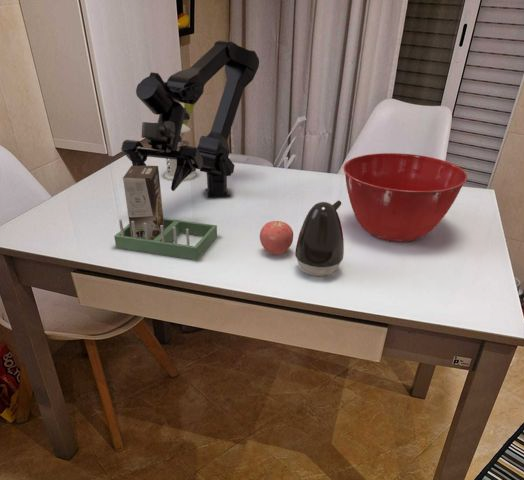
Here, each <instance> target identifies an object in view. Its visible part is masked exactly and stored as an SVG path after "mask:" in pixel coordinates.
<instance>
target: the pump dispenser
mask: <svg viewBox="0 0 524 480" xmlns="http://www.w3.org/2000/svg"><path fill="white" fill-rule="evenodd" d="M341 205H342V201H341V200H337V201H335V202H334V203H333V204H332V203H330V202H327V201H320V202H317V203H315V204H314V205H312V206H311V208H310V209H309V210H308V212H307V214H306V216H305V218H304V220H303V222H302V225H301V228H300V231H299V234H298V237H297V241H296V245H295V252H294V254H295V258H296V259H297V260H296V261H297V264H298V266H299V267H300V269H301V271H303V272H304V273H305V274H307V275H310V276H313V277H326V276H329V275H331V274H333V273H334V272H336V270H337V269H338V268H339V267H340V265H341V262H342V261H343V259H344V256H345V255H344V254H345V253H344V252H345V245H344V244H345V243H344V232H343V227H342V223H341V218H340V216H339V213H338V209H339V208H340V206H341Z"/></svg>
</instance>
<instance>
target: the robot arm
mask: <svg viewBox="0 0 524 480" xmlns="http://www.w3.org/2000/svg"><path fill="white" fill-rule="evenodd" d="M259 67H260V59H259V56H258V54H257V52H256V51H255V50H252V49H247V48H245V47H242V46H240V45H238V44H236V43H235V42H233V41H230V40H220V39H219V40H217V41H215V42H214V44H213V46H212V47H211V48H210V49H209V50H208V51H207V52H206V53H205V54H203V55H202V56H201V57H200V58H199V59H198V60H197V61H196V62H195V63H193V65H191V67H190V66H189V68H186V69H183V70H179V71H177V72H175V73H173V74H171V75H170V76H169V77H168V78H167V80H166V81H164V80H163V78H162V77H161V75H160V73H158V72H150V74H149V76H147V77H145V78H143V79H142V80H141V81H140V82H139V83H138V84H137V86H136V89H135V94H136V97H137V98H138V99H139V100H140V101H141V102H142V103H143V104H144V105H145V107H146V108H148V110H149V111H150V112H151V113H152V114H153V115H156V116H158V118H157V122H149V121H148V122H147V121H143V122H142V123H141V138H142V139H146V143H147V144H148V145H149V146H151V147H145V146H144V145H143V144H142V143H141V141H140V140H132V139H125V140H123V142H122V143H121V144H122V145H121V147H120V150H121V152H122V153H123V154H124V155H125V156H126V157H127V159H129V161H131V164H132V165H131V166H147V164H146V162H147V159H148V158H157V159H165V160H166V159H168V160H169V159H175V160H177V167H176V170H175V174H174V177H173V180H172V181H171V186H170V190H171V191H172V192H175V191H176V189H177V188H178V187H179V186H180V185H181V184H182V182H183V181H185V180H184V179H185V178H186V177H187V176H188V175H189V174H190V173H191V172H194V173H195V172H196V171H197V170H199V171H200V172H202V173H206V188H205V189H204V191H205V195H206V197H207V198H208V199H212V198H229V197H231V194H230V191H229V189H228V177H230V176H232V174H234V170H235V164H234V163H233V161H232V160H231V159H230V158H229V156H230V147H229V142H228V141H229V136H230V134H231V130H232V127H233V123H234V122H235V118H236V115H237V111H238V108H239V107H240V102H241V99H242V96H243V93H244V90H245V88H247V86H249V85H250V83H251V82H253V80H254V78H255V76H256V74H257V72H258V69H259ZM222 68H224V72H225V78H226V82H225V84H224V89H223V91H222V95H221V97H220V100H219V104H218V108H217V111H216V113H215V117H214V119H213V122H212V126H211V129H210V131H209V133H208V134H207V135H201V136H200V138H199V141H198V145H197V146H193V145H188V146H184V145H182V146H181V147H180V149H179V151H176V150H177V145H178V142H181V139H182V138H183V137H182V136H180V133H181V129H182V124H184V121H189V120H190V119H191V117H190V113H189V112H188V110H187V108H186V107H184V106H183V105H182V104H186V105H195V104H197V102H198V101H199V100H200V98H201V97H202V95H203V94H204V92H205V91H204V90H205V85H206V84H207V83H208V82H209V81H210V80H211V79H212V78H213V77H214V76H215V75H216V74H217V73H218V72H219V71H220V70H221V69H222ZM181 137H182V138H181ZM182 140H183V139H182Z"/></svg>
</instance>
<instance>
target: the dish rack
mask: <svg viewBox="0 0 524 480" xmlns="http://www.w3.org/2000/svg"><path fill="white" fill-rule="evenodd" d="M118 223H119V230H120V231H119V232H117V233H115V235H114V236H113V238H114V243H115V249H119V250H120V249H121V250H127V251H134V252H141V253H148V254H153V255H160V256H165V257H173V258H181V259H186V260H192V261H198V260H199V259H200V258H202V256H203V255H204V253H205V252H206V251H207V250H208V249H209V248H210V246H211V245H212V244H213V243H214V242H215V240H216V239H217V238H218V225H217V224H209V223H204V222H203V223H202V222H195V221H187V220H182V219H181V220H180V219H172V218H165V217H164V227H165V230H163V225H160V228H161V233H160V234H159V235H158V236H157V237H156V238H155V239H154V240H148V232H147V225H146V223H144V231H145V238H146V239H141V238H136V232H135V225H134V221H131V224H132V231H133V237H131V231H130V224H129V223H128V224H127V225H126V226H123V219H121V218H119V219H118ZM180 234H184V235H185V236H186V237H185V239H186V244H180V243H178V238H177V237H178V236H179V235H180ZM190 235H192V236H199V237H201V238H200V239H199V241H198V242H197V243H196V244H195V245H191V243H190Z"/></svg>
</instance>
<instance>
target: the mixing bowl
mask: <svg viewBox="0 0 524 480" xmlns="http://www.w3.org/2000/svg"><path fill="white" fill-rule="evenodd" d="M343 172H344V175H345V184H346V191H347V194H348V200H349V203H350V206H351V208H352V211H353V214H354V216H355V218H356V221H357V222H358V225H359V226H360V227H361V228H362V229H363V230H365V232H367V233H368V234H369V235H371V236H372V237H374V238H377V239H379V240H382V241H386V242H393V243H408V242H412V241H416V240H418V239H420V238H422V237H424V236H426V235H428V234H429V233H431V231H433V230H434V229H435V228H436V227H437V225H439V224H440V223H441V221H442V220H443V219H444V217H445V216H446V214H447V213H448V212H449V211H450V209H451V207H452V206H453V204H454V203H455V201H456V199H457V197H458V195H459V193H460V192H461V190H462V188H463V186H464V184H465V183H466V182H467V180H468V174H467V173H466V171H465V170H464V169H463V168H461V167H460V166H458V165H456V164H455V163H452V162H449V161H446V160H444V159H439V158H437V157H433V156H432V157H431V156H426V155H420V154H414V153H413V154H412V153H399V152H383V153H381V152H380V153H370V154H364V155H359V156H356V157H353V158H350V159H348V160H347V161H346V162H345V163H344V165H343Z"/></svg>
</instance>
